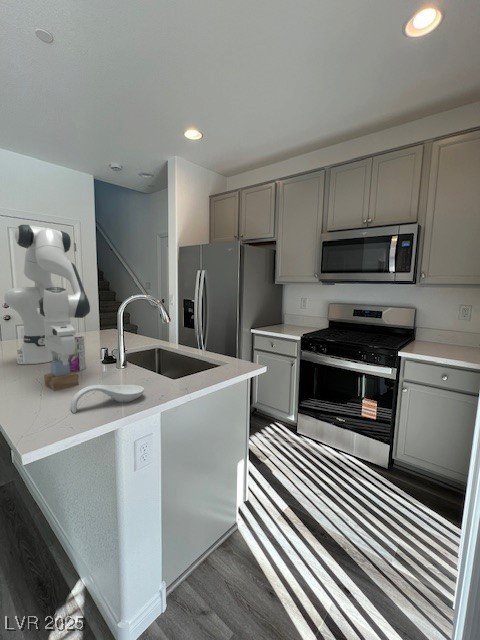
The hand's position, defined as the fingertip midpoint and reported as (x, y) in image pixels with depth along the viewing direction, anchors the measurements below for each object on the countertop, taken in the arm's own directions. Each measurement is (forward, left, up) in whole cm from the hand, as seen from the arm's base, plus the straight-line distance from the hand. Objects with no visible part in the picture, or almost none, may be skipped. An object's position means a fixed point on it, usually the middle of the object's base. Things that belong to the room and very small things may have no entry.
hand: (59, 362), depth 118 cm
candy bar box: (-20, +12, -10) cm, 25 cm away
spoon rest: (+32, +4, -10) cm, 34 cm away
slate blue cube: (0, 0, -5) cm, 5 cm away
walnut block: (0, 0, -10) cm, 10 cm away
